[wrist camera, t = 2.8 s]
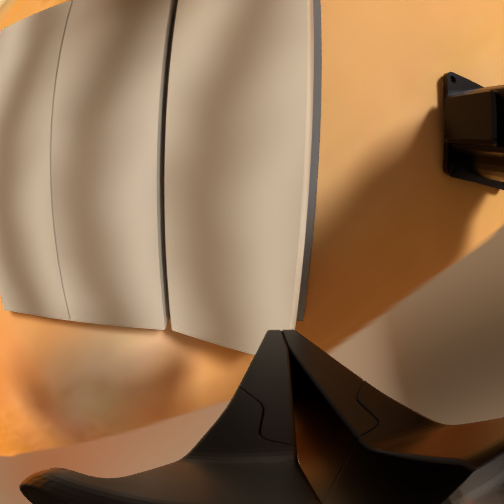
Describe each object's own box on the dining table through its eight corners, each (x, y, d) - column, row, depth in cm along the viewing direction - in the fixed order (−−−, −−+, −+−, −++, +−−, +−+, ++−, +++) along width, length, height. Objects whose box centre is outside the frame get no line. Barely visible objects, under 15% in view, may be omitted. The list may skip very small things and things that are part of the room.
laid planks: (178, -11, 10) (174, -22, 9) (169, 318, 16) (164, 330, 15) (11, 34, 10) (1, 29, 8) (14, 302, 15) (4, 309, 14)
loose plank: (311, -33, 8) (305, -47, 7) (292, 349, 14) (285, 362, 13) (194, -14, 10) (182, -23, 9) (184, 320, 16) (171, 330, 15)
